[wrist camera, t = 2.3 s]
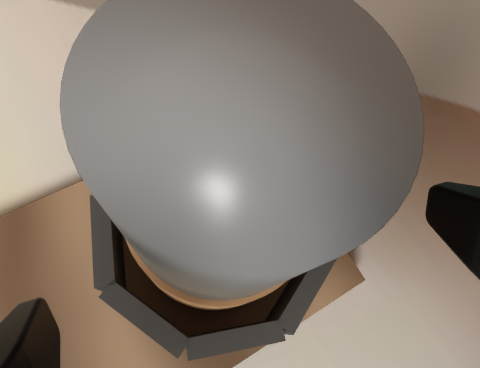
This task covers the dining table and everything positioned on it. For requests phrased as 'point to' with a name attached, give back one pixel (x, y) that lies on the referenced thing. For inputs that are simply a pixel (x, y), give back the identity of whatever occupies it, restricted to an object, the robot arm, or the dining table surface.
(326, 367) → the dining table surface
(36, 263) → the walnut board
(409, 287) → the dining table surface
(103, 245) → the grey octagonal ring
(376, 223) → the two-tone cylinder
